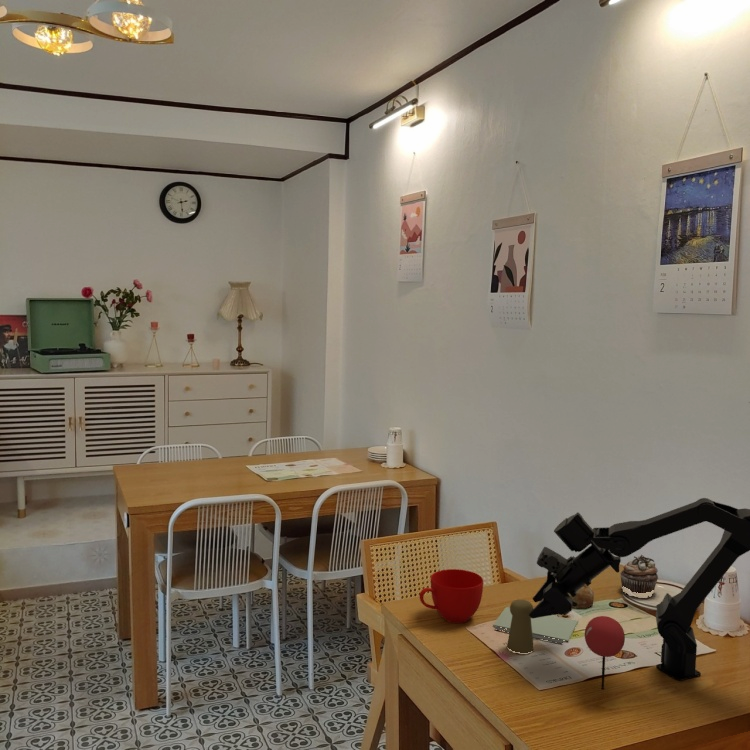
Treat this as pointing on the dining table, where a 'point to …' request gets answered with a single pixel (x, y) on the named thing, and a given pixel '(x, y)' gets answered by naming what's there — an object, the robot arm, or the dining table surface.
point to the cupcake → (639, 575)
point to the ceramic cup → (455, 594)
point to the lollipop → (604, 638)
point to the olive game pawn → (521, 627)
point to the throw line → (534, 636)
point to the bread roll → (583, 598)
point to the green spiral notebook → (542, 625)
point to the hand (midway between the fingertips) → (532, 608)
